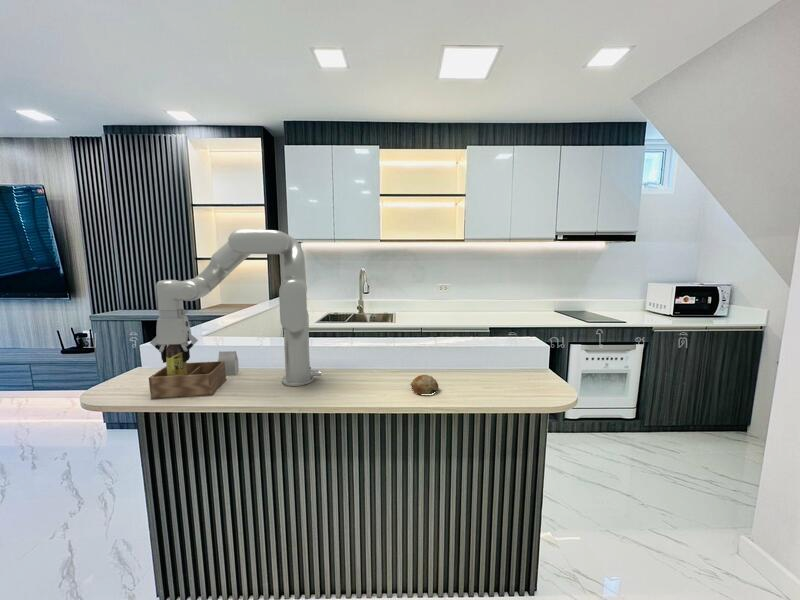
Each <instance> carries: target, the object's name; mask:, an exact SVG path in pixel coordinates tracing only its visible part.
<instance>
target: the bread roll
mask: <svg viewBox="0 0 800 600" xmlns="http://www.w3.org/2000/svg"><path fill="white" fill-rule="evenodd" d="M409 385H410V386H411V390H412V389H413V390H412V392H413V391H414V392H415V394H416V393H417V394H416V395H418V394H432V393H434V392H436V391H437V392H438V391H439V383H438V381H437V380H436V379H435V378H434V377H433V376H432V375H427V374H421V375H418V376H416V377H415V378H413V379H412V382H410V384H409ZM414 392H413V393H414ZM437 392H436V393H437Z"/></svg>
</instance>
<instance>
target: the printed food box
mask: <svg viewBox="0 0 800 600" xmlns="http://www.w3.org/2000/svg"><path fill="white" fill-rule="evenodd" d="M217 361H225V373H226V375H233V376H237V375H238V374H239V373H240V368H239V366H240V365H239V359H238V354H237V350H236V351H235V350H233V351H232V350H230V351H229V350H227V351H222V350H221V351H219V352H218V358H217ZM238 372H239V373H238ZM237 373H238V374H237ZM236 374H237V375H236Z"/></svg>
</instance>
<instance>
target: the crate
mask: <svg viewBox="0 0 800 600" xmlns="http://www.w3.org/2000/svg"><path fill="white" fill-rule="evenodd" d="M186 364H187V375H179V376H167V365H165V366H164V367H162V368H161V369H160V370H158V371H156V373H154V374H152V375H151V376H149V377H148V384H149V393H150V394H149V395H150V400H161V399H163V400H165V399H178V398H180V399H181V398H193V397H194V398H199V397H209V396H210V397H212V396H213V395H215V393H216V392H217V391H218V390H219V389H220V387H221V386H222V385H223V384H224V383H225V382H226V381H225V380H227V378H226V377H227V376H226V373H225V361H218V360H217V361H200V362H186ZM224 381H225V382H224ZM217 389H218V390H217Z"/></svg>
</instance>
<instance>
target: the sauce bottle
mask: <svg viewBox="0 0 800 600" xmlns="http://www.w3.org/2000/svg"><path fill="white" fill-rule="evenodd" d="M183 351H184V350H183V348H182V346H181V344H180V345H168V346H167V348H166V362H165V364H166V365H165V366H167V376H179V375H187V364H186V363H187V361H186V362H183Z"/></svg>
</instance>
